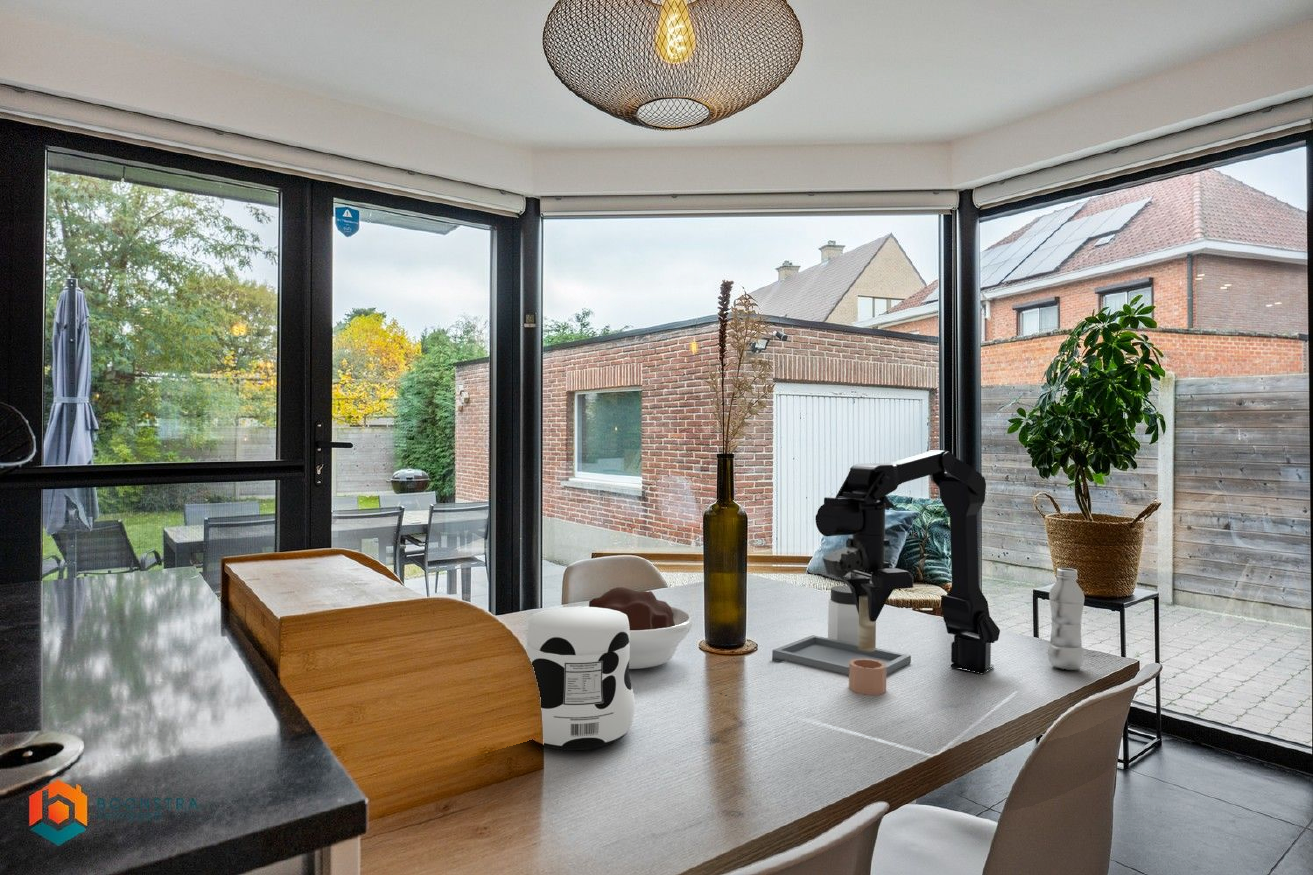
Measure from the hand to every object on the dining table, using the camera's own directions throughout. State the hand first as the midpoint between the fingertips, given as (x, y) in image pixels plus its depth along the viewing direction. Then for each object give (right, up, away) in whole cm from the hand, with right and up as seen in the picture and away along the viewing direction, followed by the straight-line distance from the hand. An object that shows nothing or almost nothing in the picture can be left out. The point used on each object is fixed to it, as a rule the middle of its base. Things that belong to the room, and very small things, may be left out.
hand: (867, 619), depth 140 cm
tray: (-1, -13, +17) cm, 21 cm away
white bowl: (-44, -12, +15) cm, 48 cm away
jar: (+5, -13, +32) cm, 35 cm away
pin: (0, -6, 0) cm, 6 cm away
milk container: (-50, -12, -23) cm, 57 cm away
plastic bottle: (+44, -14, +15) cm, 48 cm away
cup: (0, -13, -1) cm, 13 cm away
